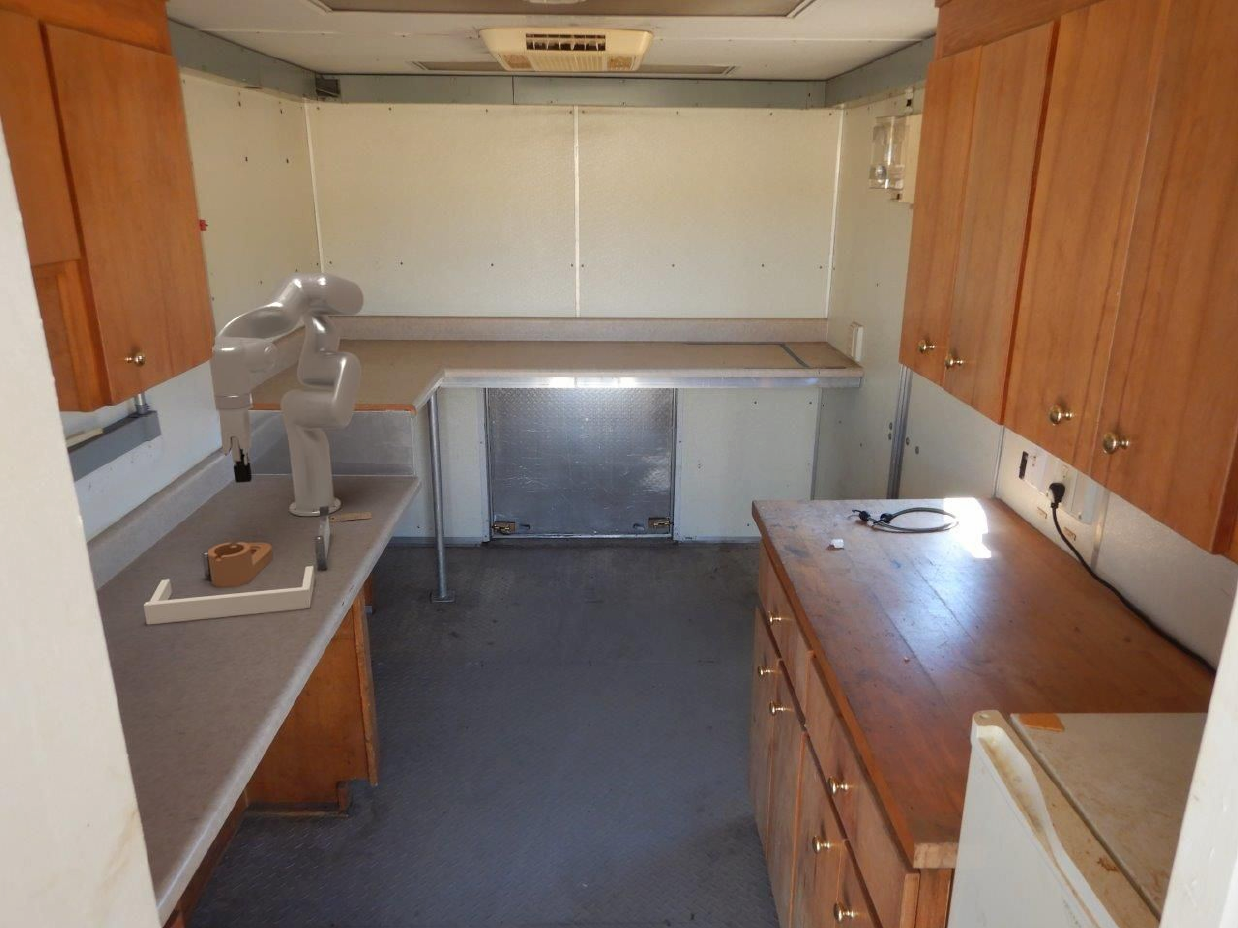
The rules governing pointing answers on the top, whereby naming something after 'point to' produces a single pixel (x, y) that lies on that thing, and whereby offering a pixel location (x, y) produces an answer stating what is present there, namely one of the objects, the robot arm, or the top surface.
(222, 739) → the top surface
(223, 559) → the bracket
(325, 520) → the gate
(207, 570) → the post
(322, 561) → the hinge post
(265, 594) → the white u-shaped frame
